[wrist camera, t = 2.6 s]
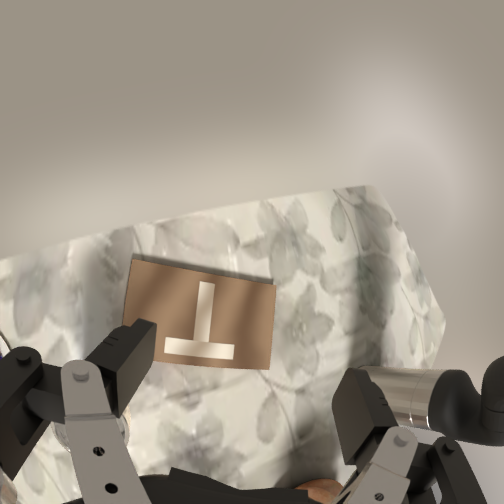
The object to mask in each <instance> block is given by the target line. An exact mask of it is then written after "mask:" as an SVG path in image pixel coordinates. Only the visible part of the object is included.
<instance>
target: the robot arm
mask: <svg viewBox="0 0 504 504" xmlns="http://www.w3.org/2000/svg"><path fill="white" fill-rule="evenodd" d="M156 332H157V324H156V323H154V322H151V321H148V320H145V319H142V318H138V319H137V320H136V321H135V322H134V323H133V324H132V326H131V327H129V326H126V325H123V326H121V327H118V328H116V329H114V330H113V331H112V332H111V333H110V334H109V335H108V337H106V338H105V339H104V340H103V342H101V343H100V344H99V345H98V346H97V347H96V348H95V350H94V351H93V352H92V353H91V354H90V355H89V356H88V357H87V358H86V359H85V360H73V361H69V362H67V363H66V364H65V365H64V366H63V367H58V366H53V365H49V364H45V363H42V359H41V355H40V354H39V352H38V351H37V350H35V349H33V348H31V347H24V346H22V347H17V348H14V349H12V350H11V351H10V352H8V353H7V354H6V355H5V356H4V357H3V358H2V359H0V504H16V501H17V490H16V487H15V485H14V484H13V482H12V481H13V480H14V478H15V476H16V475H17V473H18V472H19V470H20V468H21V467H22V465H23V464H24V462H25V460H26V459H27V457H28V456H29V454H30V453H31V451H32V450H33V448H34V447H35V445H36V443H37V442H38V440H39V439H40V437H41V436H42V435H43V433H44V432H45V430H46V429H47V427H48V426H49V424H50V423H51V421H52V422H56V423H60V424H64V425H65V426H66V431H67V437H68V442H69V447H70V452H71V456H72V461H73V465H74V469H75V473H76V476H77V480H78V484H79V487H80V490H81V494H82V498H79V499H76V500H73V501H70V502H66V503H63V504H323V503H321V502H319V501H316V500H313V499H309V497H308V490H303V489H287V488H266V489H253V490H239V489H236V488H233V487H231V486H228V485H226V484H223V483H221V482H218V481H216V480H214V479H211V478H209V477H207V476H203V475H199V474H195V473H191V472H187V471H184V470H180V469H177V468H173V467H171V470H170V473H169V475H163V474H153V475H144V476H138V474H137V472H136V470H135V467H134V465H133V462H132V460H131V458H130V455H129V453H128V450H127V447H126V445H125V442H124V440H123V437H122V434H121V431H120V428H119V425H118V423H117V420H116V418H118V419H120V417H121V415H122V414H123V412H124V410H125V409H126V407H127V405H128V404H129V402H130V400H131V399H132V397H133V395H134V394H135V392H136V390H137V389H138V387H139V385H140V384H141V382H142V380H143V379H144V377H145V375H146V374H147V372H148V370H149V369H150V367H151V365H152V362H153V359H154V353H155V342H156ZM332 410H333V415H334V419H335V423H336V427H337V432H338V436H339V440H340V445H341V449H342V454H343V458H344V463H345V465H356V467H357V469H356V470H355V471H354V472H353V474H352V475H351V477H350V478H349V479H348V481H347V482H346V484H345V485H344V487H343V488H342V489H341V491H340V492H339V493H338V495H337V496H336V497H335V499H334V500H333V501H332V502H331V504H436V501H435V497H434V494H433V491H432V489H431V486H432V485H433V484H434V483H436V482H438V485H439V488H440V490H441V493H442V500H441V503H440V504H487V502H486V500H485V497H484V495H483V493H482V490H481V488H480V486H479V484H478V482H477V479H476V477H475V475H474V473H473V471H472V469H471V467H470V465H469V463H468V461H467V459H466V457H465V455H464V453H463V451H462V449H461V447H460V445H459V444H458V443H457V442H456V441H455V440H458V441H463V442H468V443H474V444H479V445H486V446H504V356H502V357H500V358H498V359H496V360H495V361H493V362H492V363H491V364H490V365H489V367H488V368H487V370H486V372H485V374H484V377H483V382H482V389H481V395H480V394H479V393H478V392H477V391H476V389H475V387H474V386H473V384H472V381H471V379H470V377H469V375H468V374H467V373H466V372H465V371H462V370H429V369H406V368H391V367H379V366H362V367H360V368H358V369H356V368H348V369H347V370H346V372H345V374H344V376H343V378H342V380H341V382H340V384H339V386H338V388H337V390H336V392H335V394H334V396H333V399H332ZM398 424H399V425H404V426H409V427H414V428H420V429H426V430H431V431H436V432H441V433H442V434H444V435H445V436H446V437H439V438H438V439H437V440H436V441H435V442H434V443H433V445H428V444H423V443H418V441H417V438H416V436H415V435H414V434H413V433H412V432H411V431H410V430H408V429H406V428H404V427H399V425H398Z"/></svg>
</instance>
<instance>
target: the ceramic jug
mask: <svg viewBox="0 0 504 504" xmlns="http://www.w3.org/2000/svg"><path fill="white" fill-rule="evenodd" d="M342 488H343V486H342V485H341V484H340V483H339V482H337V481H335V480H332V479H315V480H312V481H308V482H306V483H304V484H301V485H300V486H298V487H296V488H295V489H303V490H308V497H309V499H313V500H316V501H319V502H321V503H323V504H331V502H332V501H333V500H334V499H335V497H336V496H337V495H338V493H339V492H340V491H341V489H342Z"/></svg>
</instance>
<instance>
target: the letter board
mask: <svg viewBox="0 0 504 504" xmlns="http://www.w3.org/2000/svg"><path fill="white" fill-rule="evenodd" d="M275 298H276V285H271V284H265V283H259V282H253V281H247V280H242V279H236V278H230V277H225V276H219V275H214V274H208V273H203V272H198V271H192V270H187V269H182V268H177V267H172V266H166V265H161V264H156V263H151V262H146V261H141V260H136V259H132V264H131V270H130V276H129V282H128V288H127V294H126V301H125V308H124V316H123V324H122V326H123V325H126V326H129V327H131V326H132V324H133V323H134V322H135V321H136V320H137V319H138V318H142V319H145V320H148V321H151V322H154V323H156V324H157V332H156V342H155V353H154V359H153V361H159V362H166V363H175V364H184V365H194V366H206V367H219V368H236V369H262V370H269V367H270V357H271V346H272V334H273V323H274V311H275Z"/></svg>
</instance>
